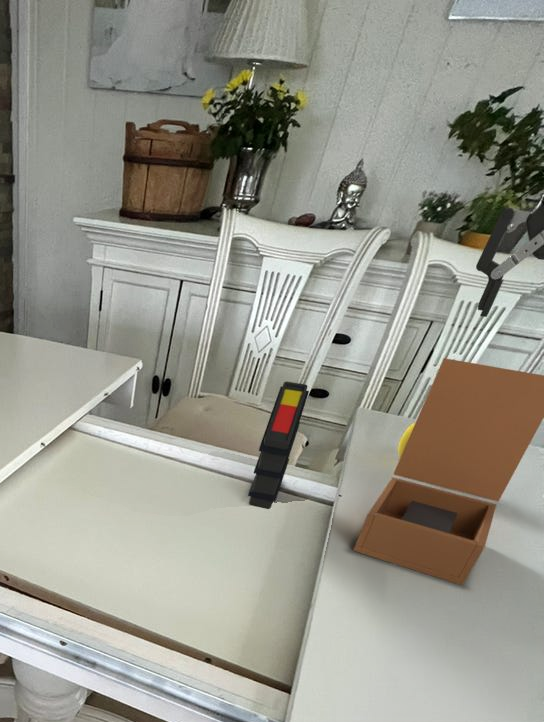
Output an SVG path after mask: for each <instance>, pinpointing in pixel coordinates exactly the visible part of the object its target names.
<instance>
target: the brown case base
mask: <svg viewBox="0 0 544 722" xmlns="http://www.w3.org/2000/svg"><path fill="white" fill-rule="evenodd" d="M412 501H415V502H419V503H423V504H426V505H430V506H434V507H437V508H441V509H445V510H448V511H452V512H456V513H457V516H456V518H455V521H454V523H453V526H452V528H451V531H450V533H445V532H442V531H438V530H435V529H432V528H428V527H425V526H421V525H418V524H414V523H411V522H407V521H404V520H401V519H402V518H403V516H404V514H405V512H406V510H407V509H408V507H409V505H410V503H411V502H412ZM497 505H498V504H497V503H493V502H490V501H486V500H482V499H479V498H478V499H477V498H475V497H470V496H466V495H463V494H459V493H455V492H451V491H448V490H444V489H440V488H436V487H432V486H428V485H425V484H421V483H417V482H414V481H413V482H412V481H408V480H405V479H402V478H397V477H394V476H392V477H391V478H390V480H389V481H388V483H387V484H386V486H385V487H384V488H383V490H382V491H381V493H380V495H379V496H378V498H377V500H376V501H375V502H374V504H373V505H372V507H371V508H370V510H369V511H368V513H367V515H366V517H365V520H364V523H363V524H362V528H361V529H360V532H359V535H358V537H357V539H356V541H355V544H354V547H353V550H352V551H353V552H356V553H360V554H363V555H366V556H369V557H372V558H375V559H378V560H381V561H384V562H387V563H391V564H394V565H397V566H400V567H403V568H406V569H410V570H412V571H416V572H419V573H422V574H425V575H428V576H431V577H435V578H438V579H441V580H444V581H448V582H450V583H453V584H456V585H459V586H464V584H465V582H466V580H467V579H468V577H469V576H470V574H471V572H472V570H473V568H474V566H475V565H476V563H477V561H478V559H479V558H480V556H481V554H482V553H483V551H484V549H485V547H486V543H487V540H488V537H489V533H490V529H491V527H492V522H493V519H494V515H495V511H496V508H497Z"/></svg>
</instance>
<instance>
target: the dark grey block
mask: <svg viewBox="0 0 544 722" xmlns="http://www.w3.org/2000/svg"><path fill="white" fill-rule="evenodd" d="M456 516H457V513H456V512H452V511H448V510H445V509H441V508H437V507H434V506H430V505H426V504H423V503H419V502H415V501H412V502H411V503H410V505H409V507H408V509H407V510H406V512H405V514H404V516H403V518H402V519H401V520H404V521H407V522H411V523H414V524H418V525H421V526H425V527H428V528H432V529H435V530H438V531H442V532H445V533H450V531H451V528H452V526H453V523H454V521H455V518H456Z"/></svg>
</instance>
